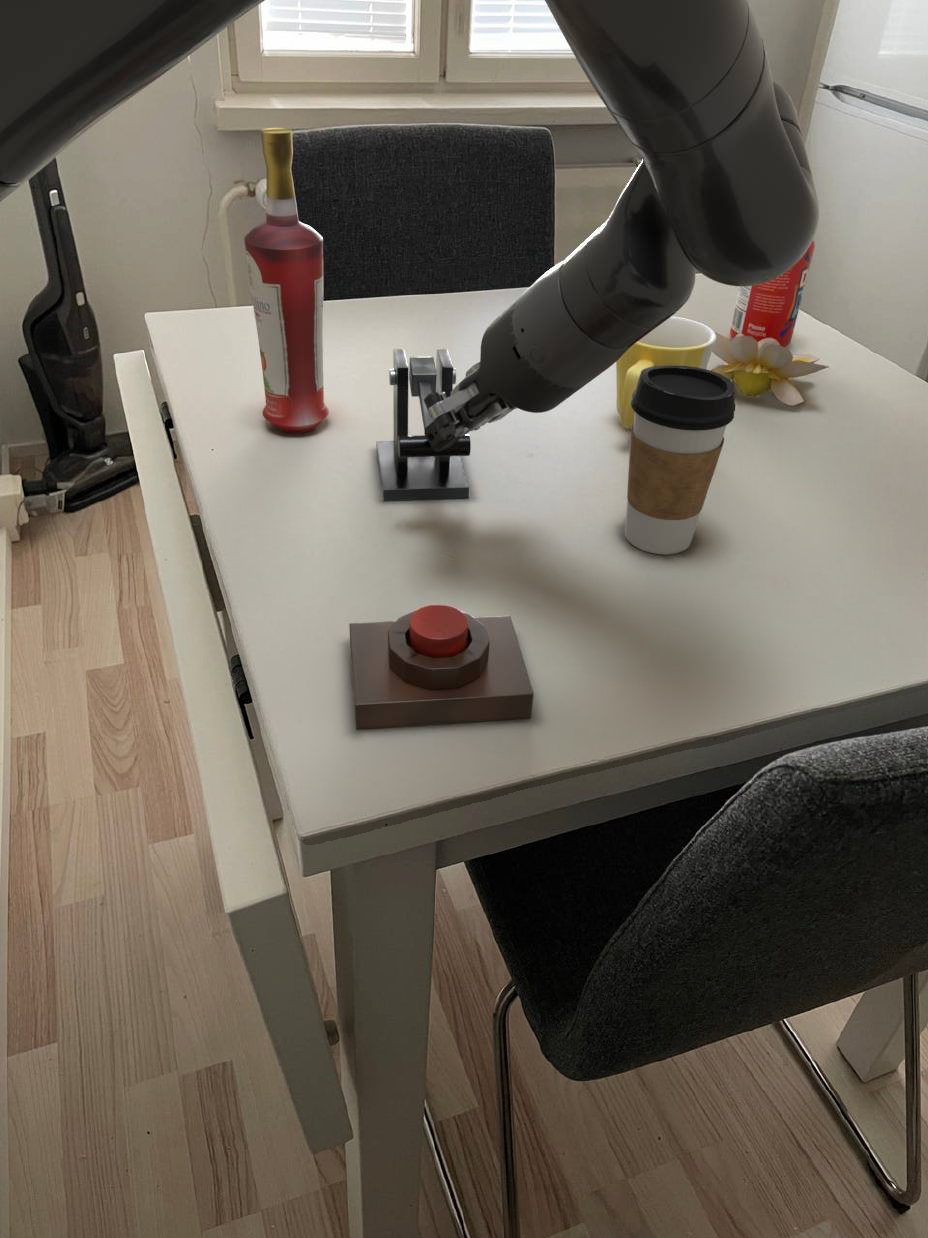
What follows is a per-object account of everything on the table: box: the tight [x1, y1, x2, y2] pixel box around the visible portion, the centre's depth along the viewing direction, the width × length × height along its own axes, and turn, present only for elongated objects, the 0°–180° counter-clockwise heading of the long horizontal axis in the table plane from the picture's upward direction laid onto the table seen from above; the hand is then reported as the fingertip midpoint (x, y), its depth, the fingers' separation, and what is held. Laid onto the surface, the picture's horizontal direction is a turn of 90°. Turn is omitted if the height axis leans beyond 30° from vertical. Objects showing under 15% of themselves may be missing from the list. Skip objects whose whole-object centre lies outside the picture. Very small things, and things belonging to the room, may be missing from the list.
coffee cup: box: [624, 365, 736, 555], centre depth 81 cm, size 8×8×15 cm
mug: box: [615, 315, 716, 429], centre depth 101 cm, size 14×10×10 cm
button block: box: [348, 610, 535, 730], centre depth 67 cm, size 12×9×4 cm
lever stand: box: [376, 348, 470, 502], centre depth 90 cm, size 10×8×12 cm
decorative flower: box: [709, 331, 830, 406], centre depth 110 cm, size 15×11×10 cm
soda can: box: [729, 238, 816, 348], centre depth 121 cm, size 8×8×15 cm
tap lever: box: [398, 356, 472, 458], centre depth 84 cm, size 12×6×2 cm, turn 8°
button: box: [410, 604, 468, 658], centre depth 66 cm, size 4×4×2 cm
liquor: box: [243, 127, 330, 434], centre depth 93 cm, size 7×7×28 cm
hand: (435, 439), depth 80 cm, fingers closed
